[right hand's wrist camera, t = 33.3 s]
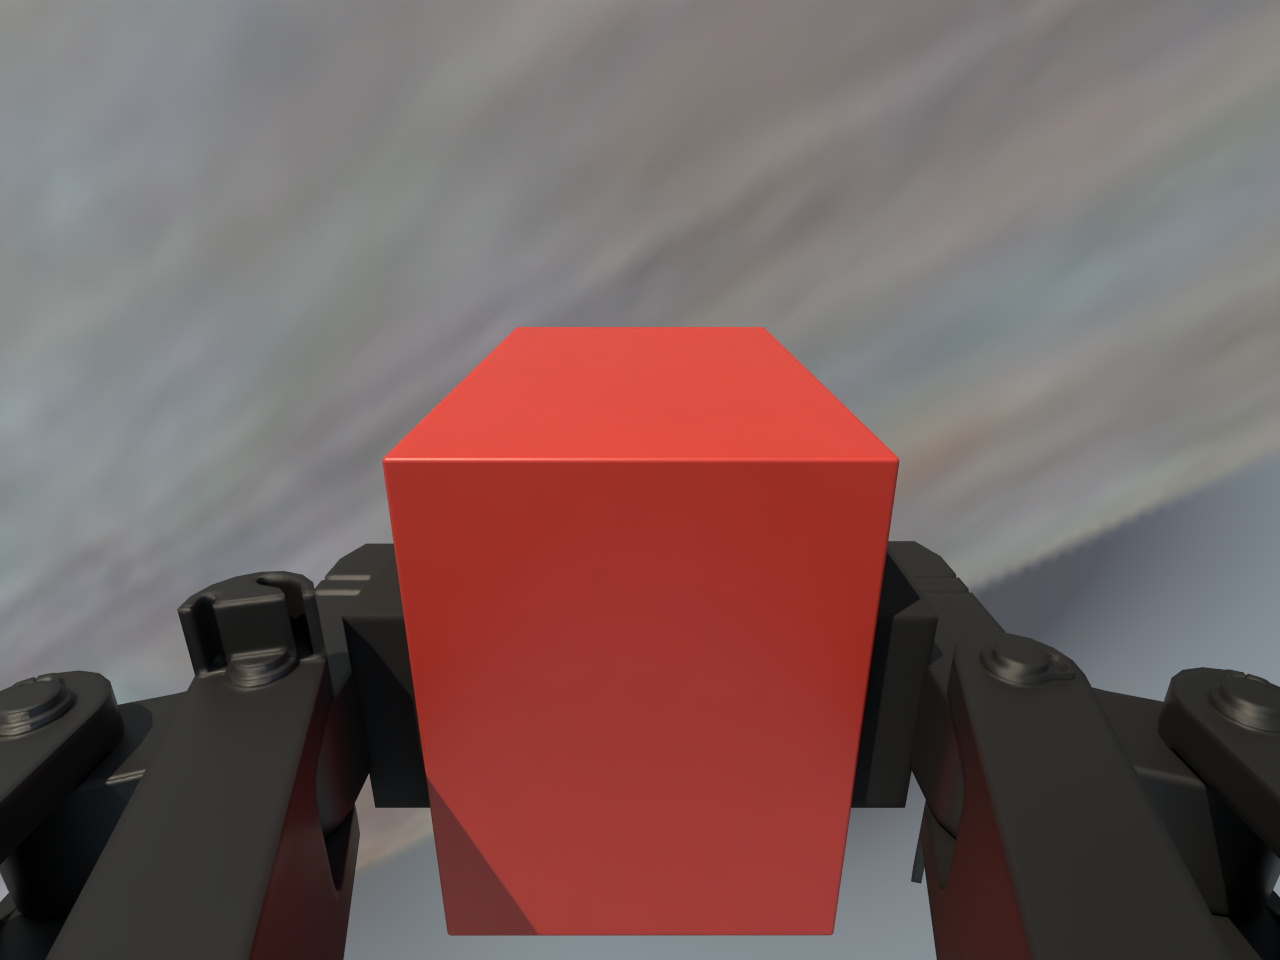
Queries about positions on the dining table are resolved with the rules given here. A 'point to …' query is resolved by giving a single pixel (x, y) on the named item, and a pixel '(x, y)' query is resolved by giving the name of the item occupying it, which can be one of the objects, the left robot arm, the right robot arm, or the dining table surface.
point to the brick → (640, 631)
